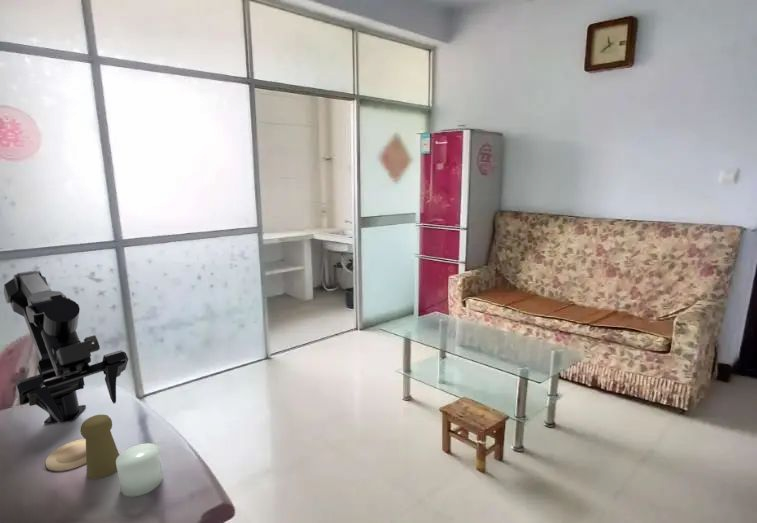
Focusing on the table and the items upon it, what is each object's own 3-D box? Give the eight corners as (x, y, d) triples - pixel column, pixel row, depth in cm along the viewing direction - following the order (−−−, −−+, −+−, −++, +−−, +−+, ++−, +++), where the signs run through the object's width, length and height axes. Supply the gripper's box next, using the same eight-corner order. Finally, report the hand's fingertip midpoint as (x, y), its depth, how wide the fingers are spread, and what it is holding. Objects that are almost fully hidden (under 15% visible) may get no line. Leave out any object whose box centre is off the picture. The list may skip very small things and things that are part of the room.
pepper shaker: (105, 480, 83) (95, 429, 80) (78, 477, 84) (68, 426, 82) (129, 459, 89) (120, 411, 86) (103, 456, 90) (94, 408, 87)
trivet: (62, 443, 95) (61, 440, 95) (111, 437, 96) (111, 434, 96) (35, 474, 85) (34, 471, 85) (90, 467, 87) (90, 464, 87)
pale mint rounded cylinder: (129, 473, 85) (124, 446, 83) (167, 468, 86) (163, 441, 85) (114, 499, 78) (109, 470, 77) (156, 493, 79) (151, 464, 78)
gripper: (5, 341, 80) (30, 417, 75) (117, 314, 93) (145, 376, 88) (7, 369, 87) (30, 440, 82) (112, 340, 100) (137, 399, 95)
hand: (89, 412), depth 86 cm, fingers open, 9 cm apart
